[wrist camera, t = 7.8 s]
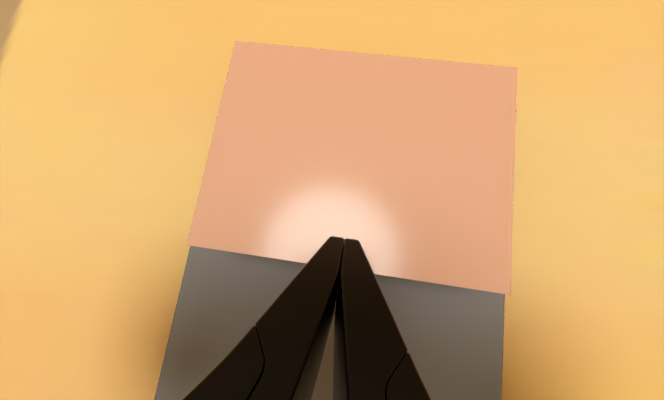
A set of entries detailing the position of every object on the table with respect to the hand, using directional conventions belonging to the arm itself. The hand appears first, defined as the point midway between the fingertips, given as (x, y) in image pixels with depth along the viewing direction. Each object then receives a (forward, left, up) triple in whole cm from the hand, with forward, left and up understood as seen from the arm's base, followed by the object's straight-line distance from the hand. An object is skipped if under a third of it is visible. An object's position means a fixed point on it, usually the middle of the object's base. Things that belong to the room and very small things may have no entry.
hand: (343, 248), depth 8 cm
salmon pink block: (+3, -2, -4) cm, 6 cm away
